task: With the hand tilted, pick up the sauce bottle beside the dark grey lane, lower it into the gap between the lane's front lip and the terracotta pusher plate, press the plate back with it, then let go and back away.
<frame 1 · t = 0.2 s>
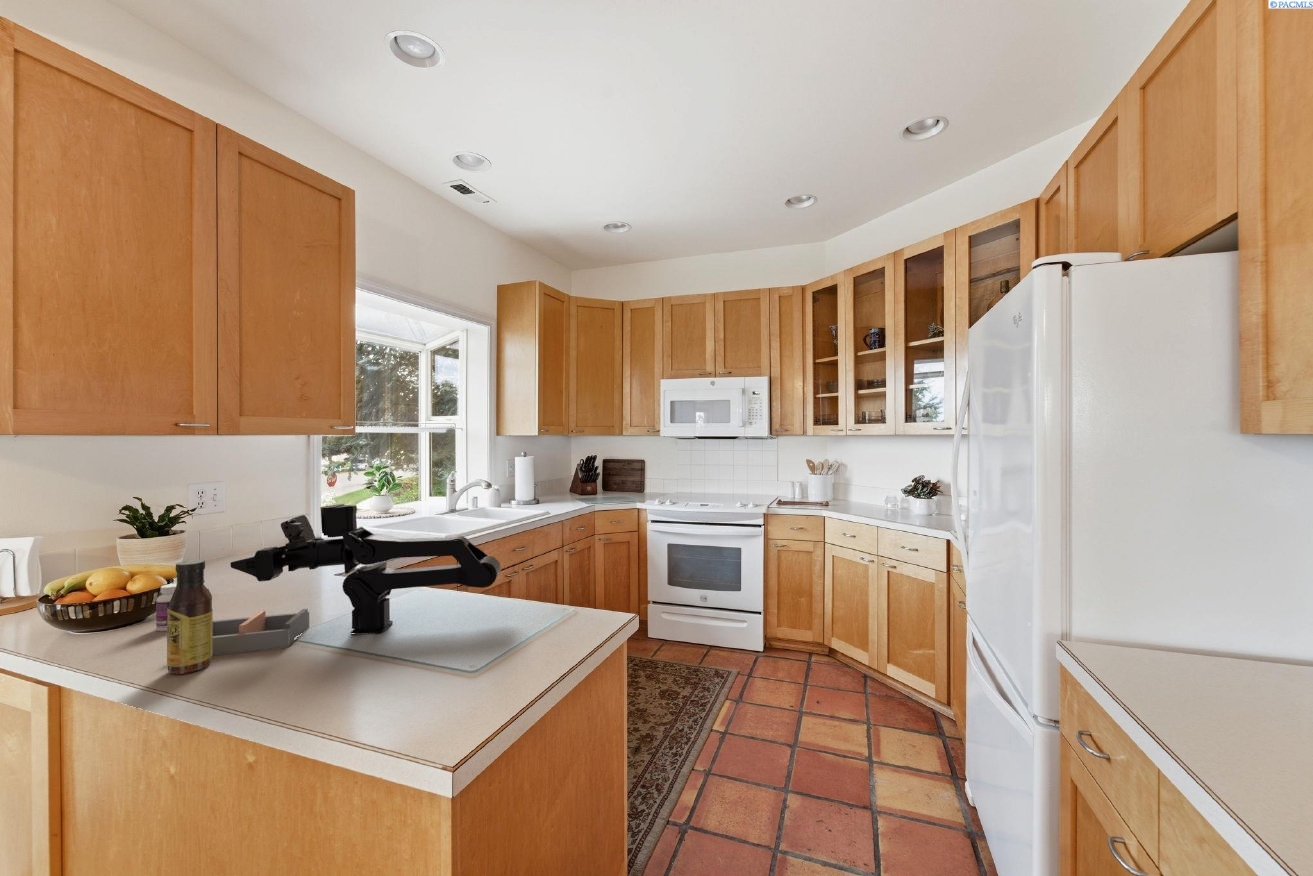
hand: (245, 559, 110), 17 cm above the countertop, tool horizontal, fingers open, 9 cm apart
pusher plate: (252, 628, 108), point 3 cm above the countertop, slide at 0.0 cm
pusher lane: (243, 642, 107), on the countertop
pill bottle: (172, 628, 117), on the countertop
sauce bottle: (190, 670, 95), on the countertop
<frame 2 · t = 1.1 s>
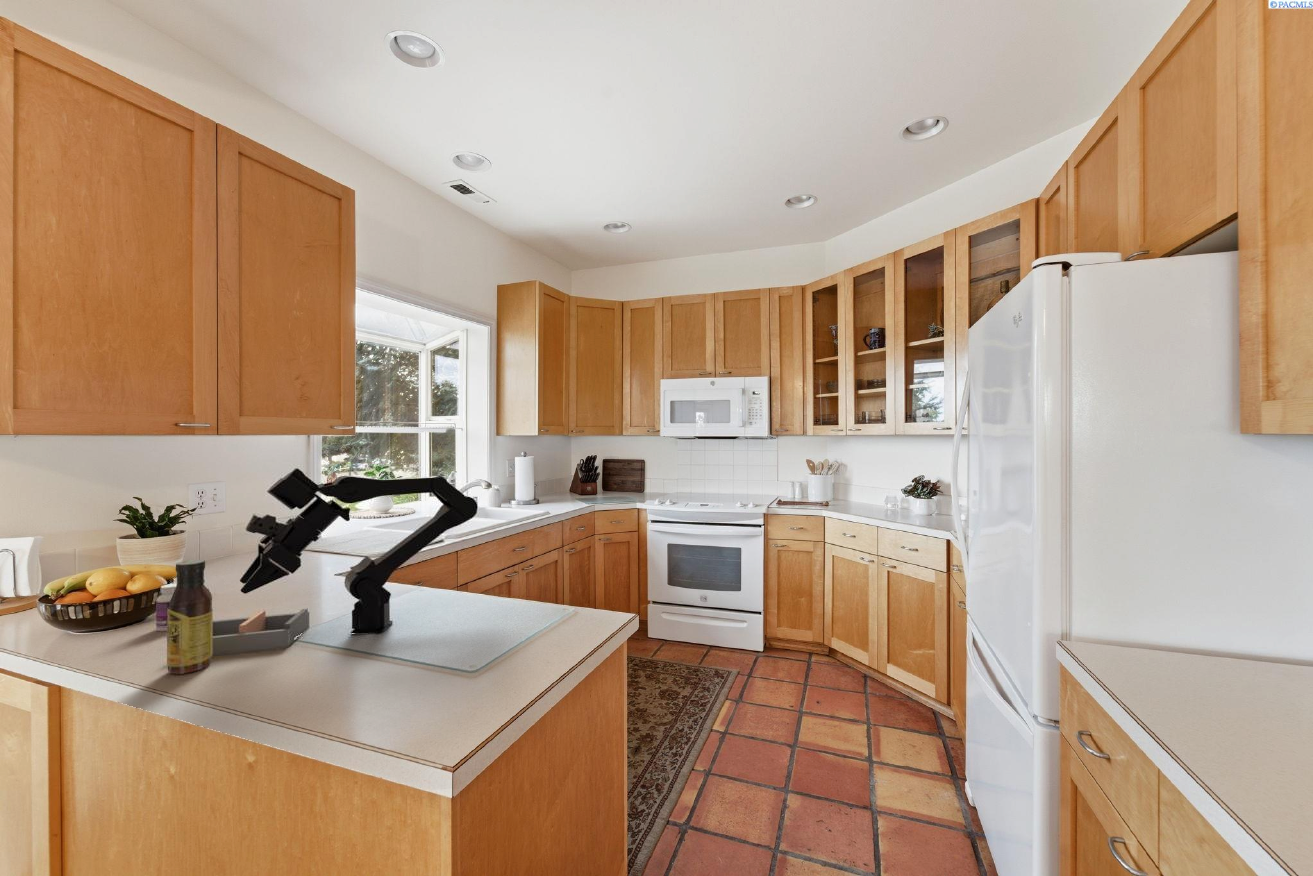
hand: (242, 587, 100), 14 cm above the countertop, tool tilted 45°, fingers open, 9 cm apart
nothing on the countertop moved.
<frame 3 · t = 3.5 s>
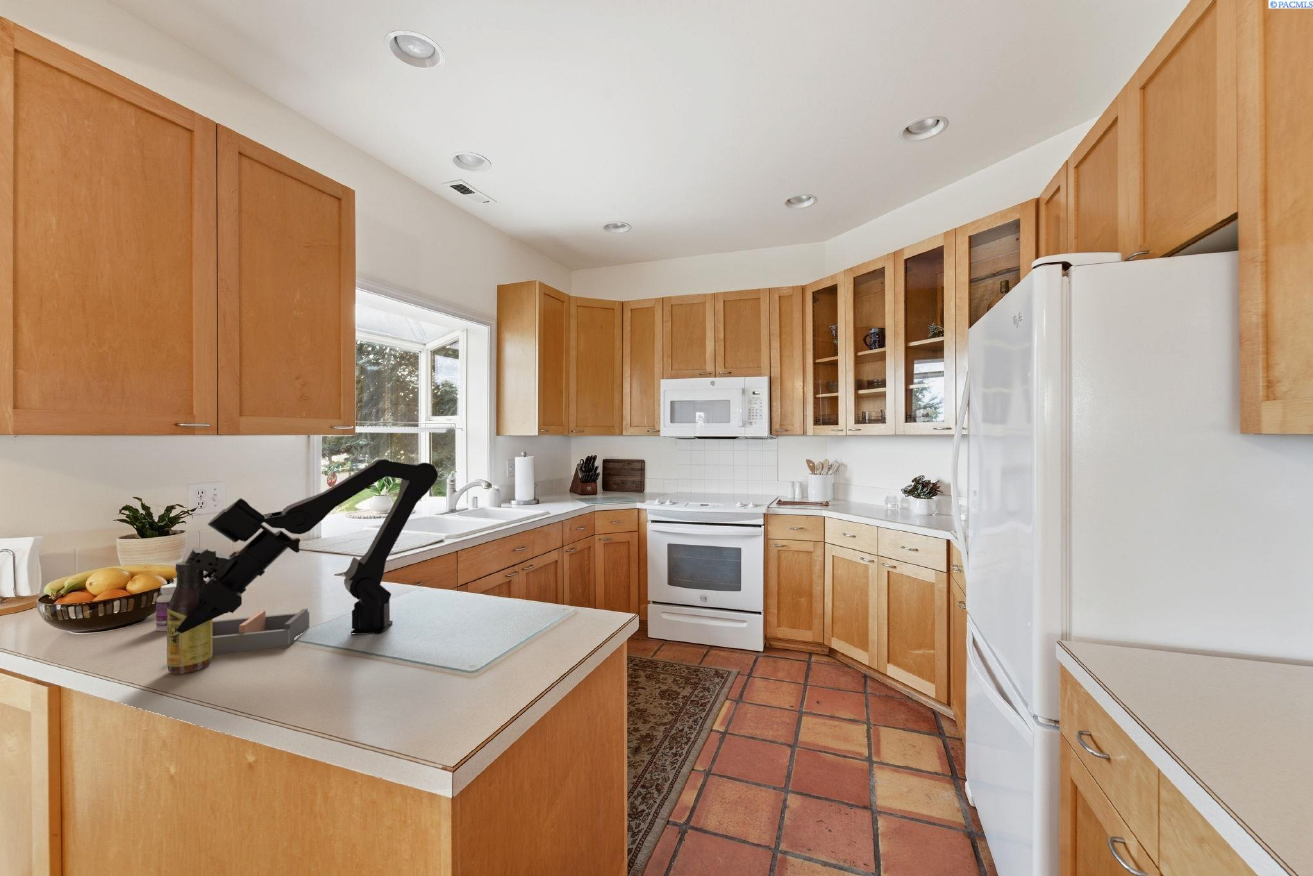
hand: (179, 626, 94), 8 cm above the countertop, tool tilted 45°, fingers closed on sauce bottle, 6 cm apart
sauce bottle: (190, 670, 95), on the countertop, touching gripper
everything else where it was.
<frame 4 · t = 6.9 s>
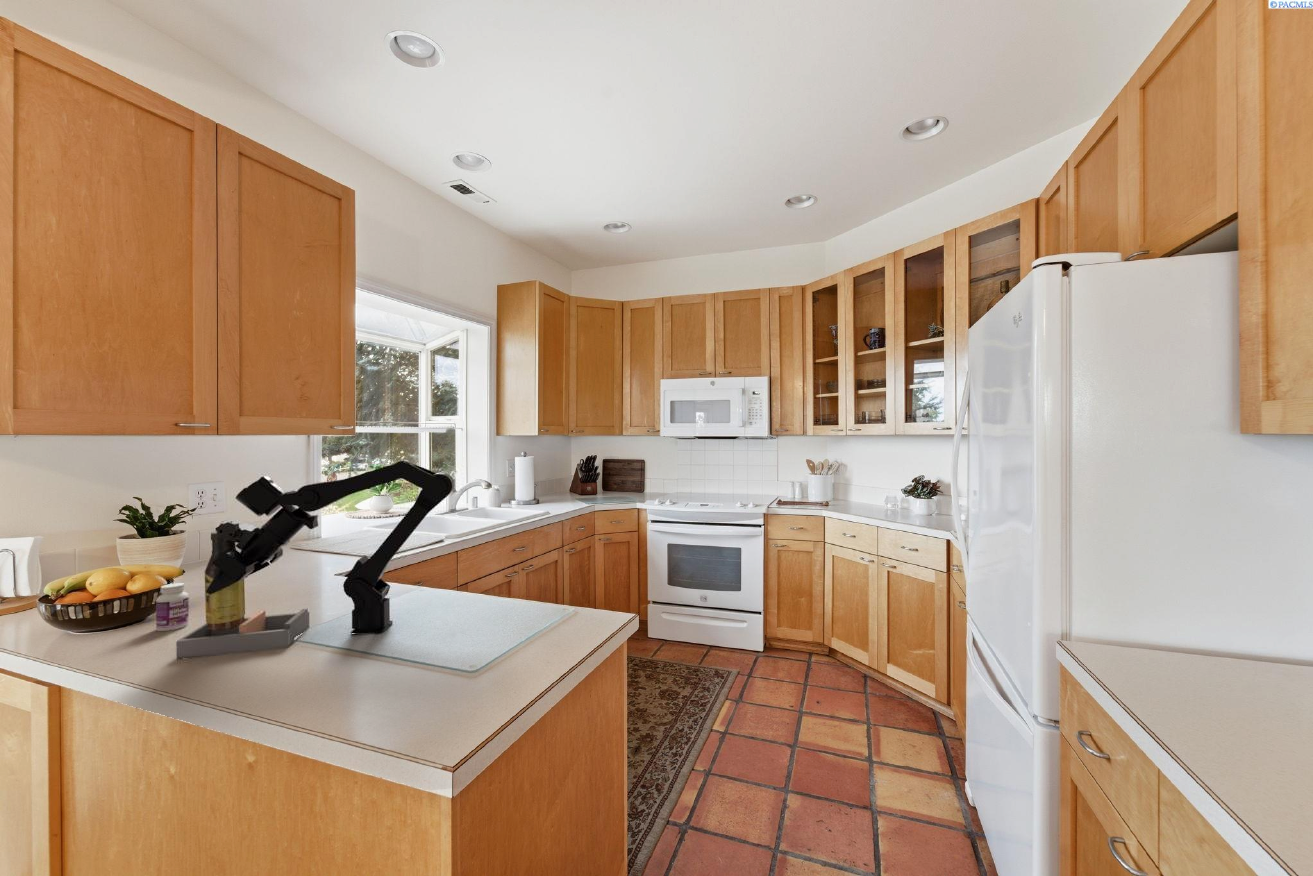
hand: (216, 588, 106), 12 cm above the countertop, tool tilted 45°, fingers closed on sauce bottle, 6 cm apart
sauce bottle: (225, 627, 106), point 3 cm above the countertop, touching gripper
everything else where it was.
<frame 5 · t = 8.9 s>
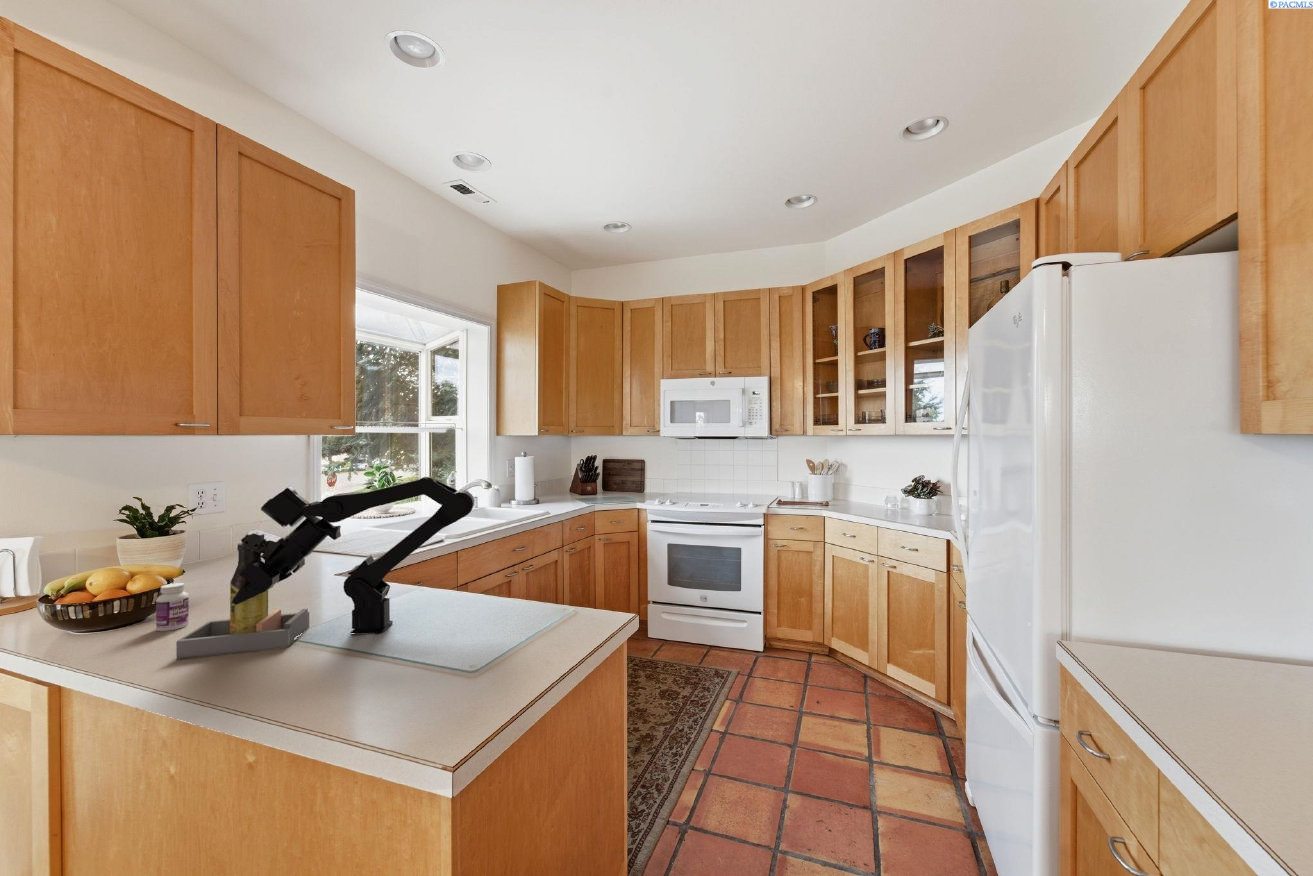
hand: (241, 598, 107), 9 cm above the countertop, tool tilted 45°, fingers closed on sauce bottle, 6 cm apart
pusher plate: (269, 626, 109), point 3 cm above the countertop, slide at 2.9 cm, touching sauce bottle
sauce bottle: (249, 637, 108), point 1 cm above the countertop, touching gripper, pusher plate
everything else where it was.
when the fingers open (9 cm above the countertop, at t = 10.1 s): sauce bottle stays where it is, resting on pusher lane.
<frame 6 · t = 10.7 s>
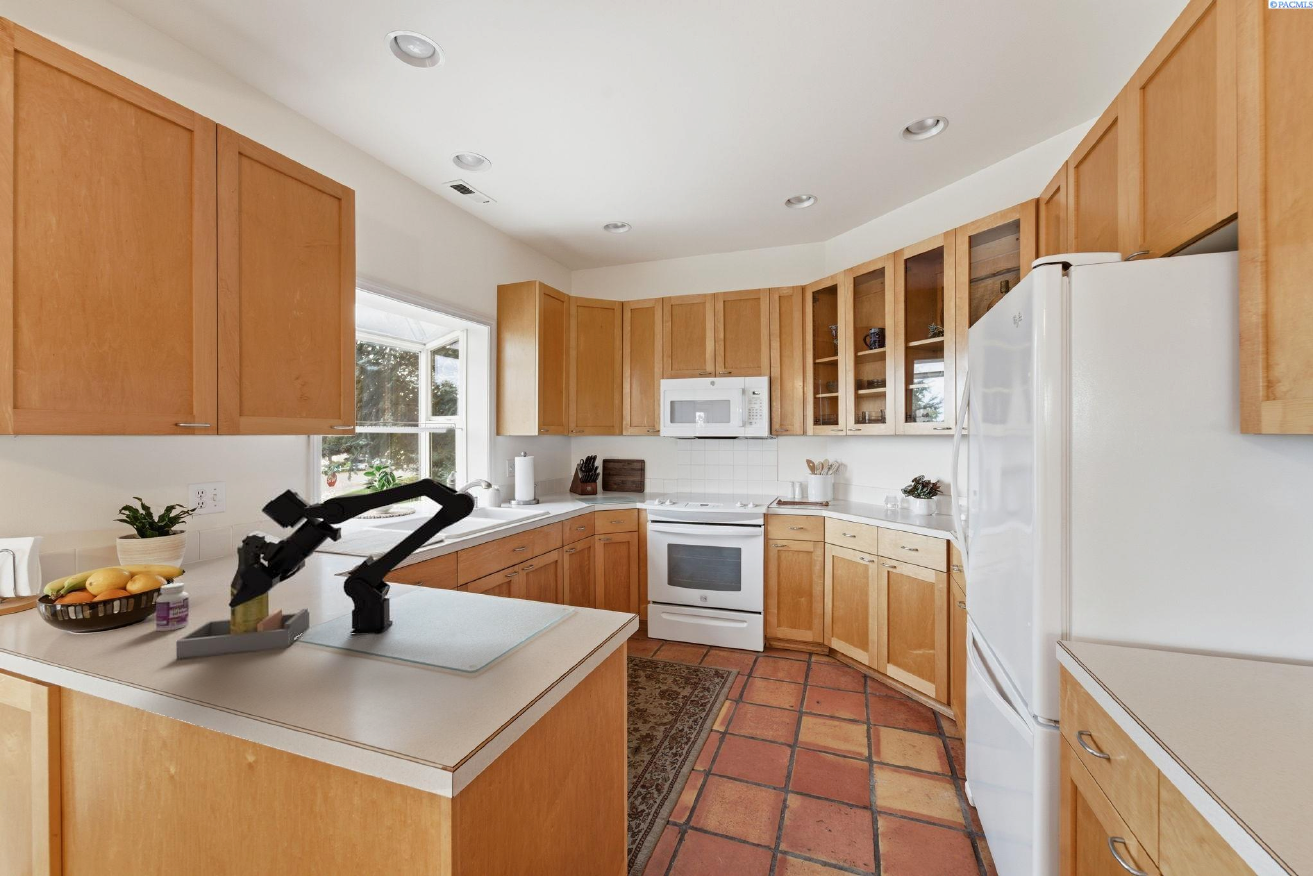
hand: (241, 599, 107), 9 cm above the countertop, tool tilted 45°, fingers open, 9 cm apart
pusher plate: (270, 626, 109), point 3 cm above the countertop, slide at 3.1 cm
sauce bottle: (249, 640, 108), resting on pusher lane
everything else where it was.
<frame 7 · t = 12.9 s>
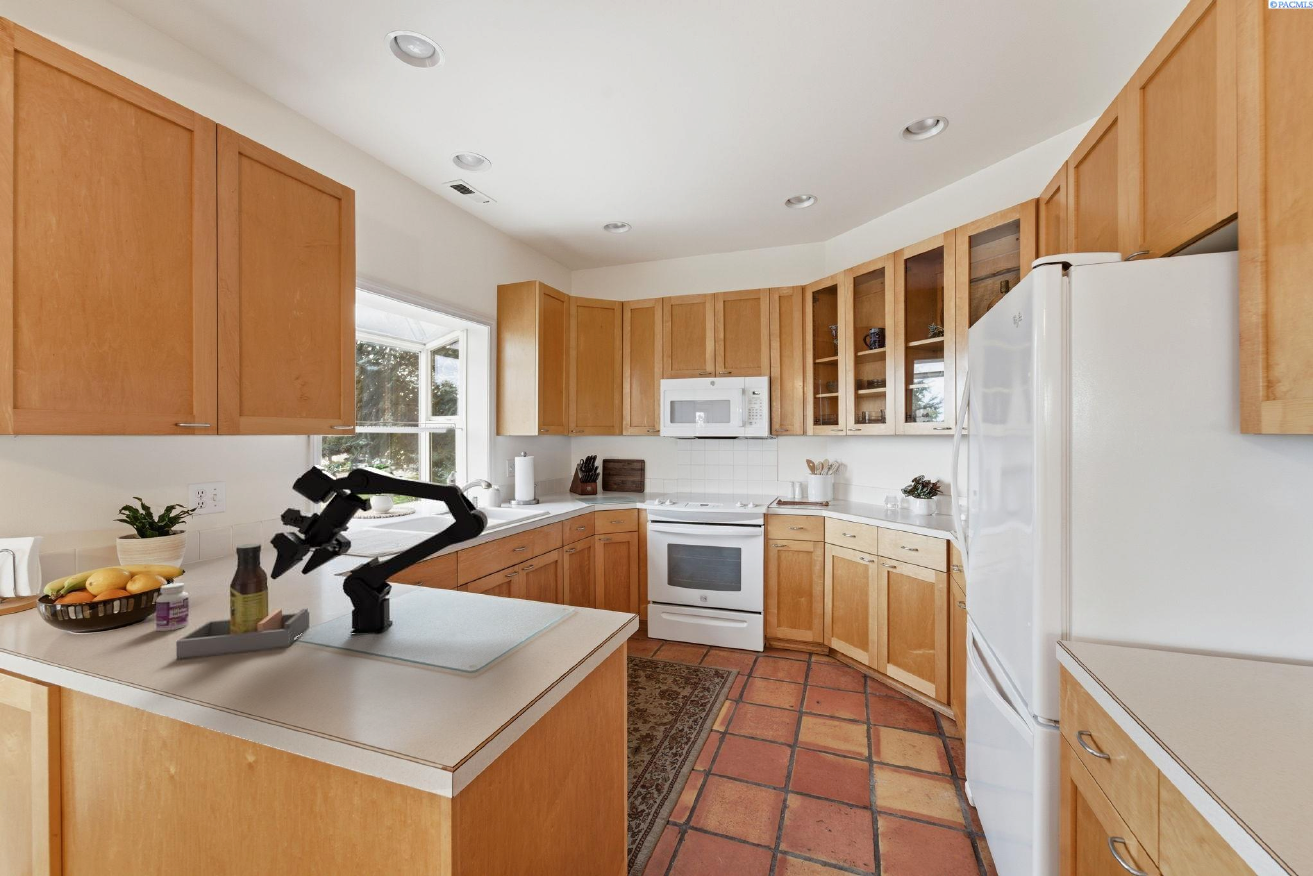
hand: (288, 575, 111), 13 cm above the countertop, tool tilted 35°, fingers open, 9 cm apart
nothing on the countertop moved.
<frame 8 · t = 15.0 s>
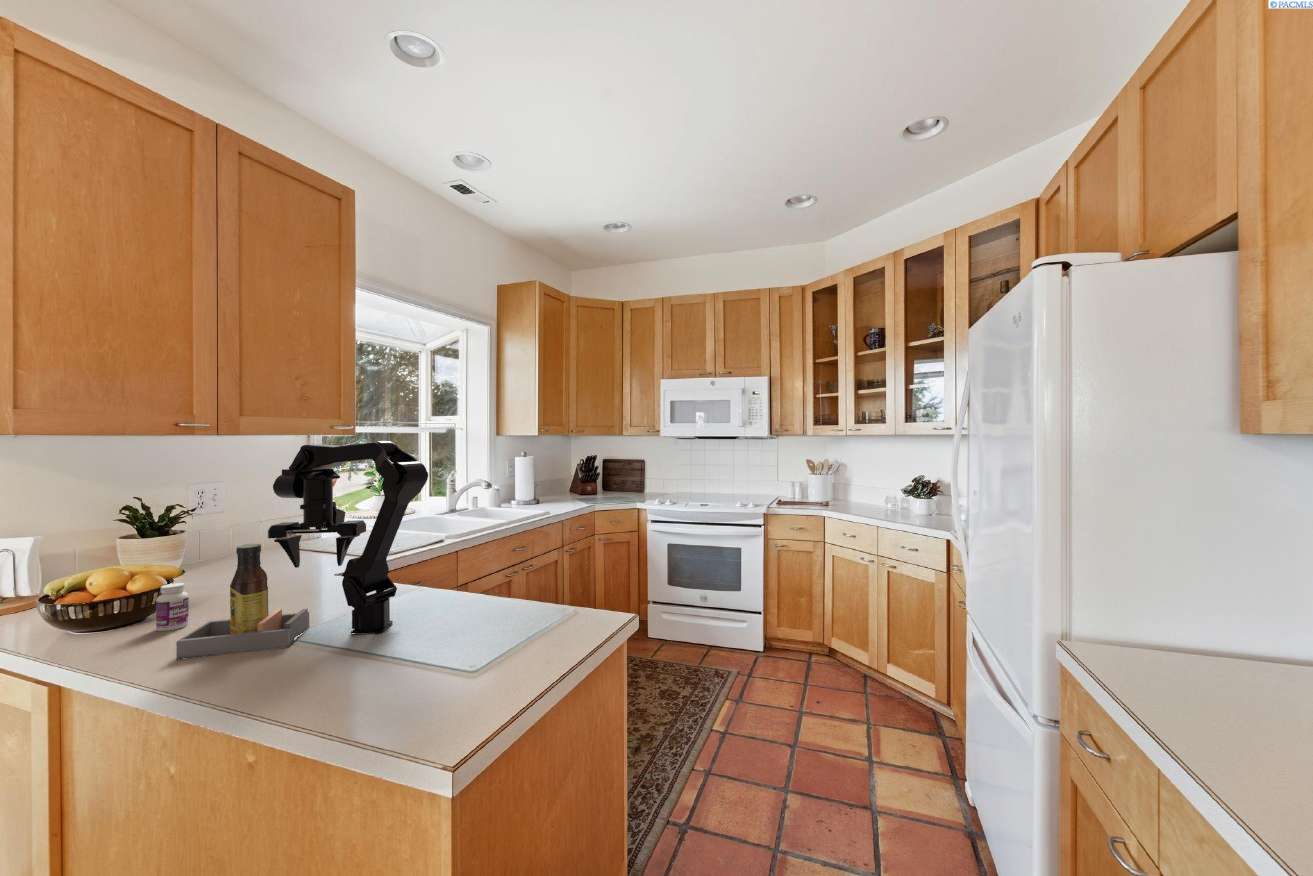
hand: (318, 566, 119), 13 cm above the countertop, tool pointing down, fingers open, 9 cm apart
nothing on the countertop moved.
at the end: sauce bottle 1.5 cm off-centre on the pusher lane, point 0.2 cm above the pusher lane's base; sauce bottle tilted 0°; pusher plate slide at 3.1 cm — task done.
